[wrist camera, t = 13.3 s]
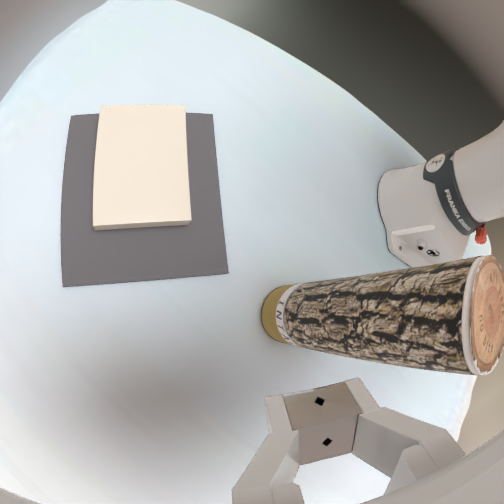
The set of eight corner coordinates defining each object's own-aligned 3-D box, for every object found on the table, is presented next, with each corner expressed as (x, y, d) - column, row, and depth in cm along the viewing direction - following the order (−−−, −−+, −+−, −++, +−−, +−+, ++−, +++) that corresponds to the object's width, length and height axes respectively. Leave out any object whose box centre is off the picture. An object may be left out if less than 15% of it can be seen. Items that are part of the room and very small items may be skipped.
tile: (191, 220, 30) (185, 105, 31) (92, 225, 26) (100, 106, 27) (187, 225, 32) (181, 116, 33) (95, 231, 28) (101, 116, 30)
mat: (227, 273, 33) (228, 273, 33) (63, 286, 26) (62, 286, 26) (211, 115, 35) (212, 114, 35) (71, 117, 28) (71, 115, 28)
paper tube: (292, 274, 36) (493, 234, 13) (318, 320, 37) (513, 323, 14) (248, 305, 34) (458, 301, 11) (277, 353, 34) (479, 400, 11)
